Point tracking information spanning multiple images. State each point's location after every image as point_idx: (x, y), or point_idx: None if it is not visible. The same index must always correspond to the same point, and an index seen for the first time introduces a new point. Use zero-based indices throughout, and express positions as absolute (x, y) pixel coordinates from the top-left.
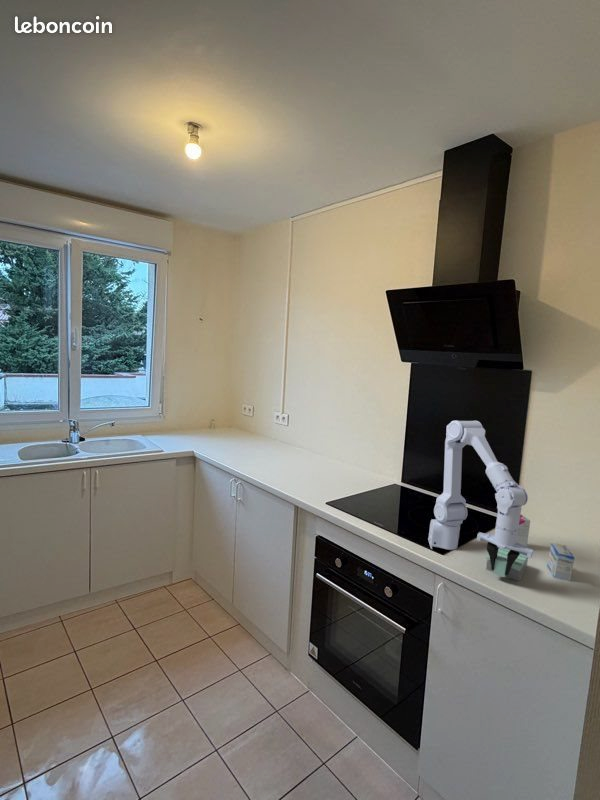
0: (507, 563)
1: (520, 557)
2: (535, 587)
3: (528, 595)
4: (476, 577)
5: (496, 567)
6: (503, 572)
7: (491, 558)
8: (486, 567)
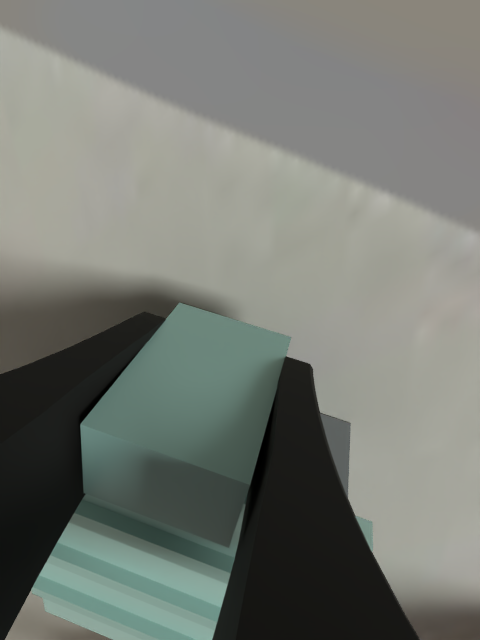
0: (47, 399)
1: (73, 582)
2: (29, 354)
3: (27, 216)
4: (457, 296)
5: (249, 380)
6: (174, 333)
7: (317, 481)
8: (348, 453)
